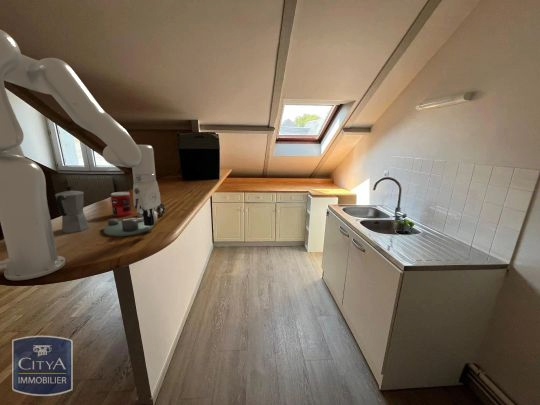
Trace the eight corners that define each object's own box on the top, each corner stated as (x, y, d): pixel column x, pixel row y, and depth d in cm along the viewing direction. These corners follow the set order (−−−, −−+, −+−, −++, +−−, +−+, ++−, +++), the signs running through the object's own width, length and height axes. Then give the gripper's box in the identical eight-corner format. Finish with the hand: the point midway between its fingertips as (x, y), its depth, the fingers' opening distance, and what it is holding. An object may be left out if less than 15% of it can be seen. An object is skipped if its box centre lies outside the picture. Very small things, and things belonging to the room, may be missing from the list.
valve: (135, 217, 119) (159, 218, 118) (134, 204, 117) (158, 205, 117) (143, 213, 125) (165, 214, 125) (141, 201, 124) (165, 202, 123)
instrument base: (104, 239, 91) (103, 230, 90) (103, 225, 105) (102, 218, 105) (156, 231, 101) (155, 223, 100) (149, 219, 115) (148, 212, 114)
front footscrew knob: (123, 232, 94) (121, 218, 92) (122, 228, 98) (120, 214, 97) (159, 227, 101) (157, 213, 99) (156, 223, 105) (155, 210, 104)
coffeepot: (70, 224, 106) (63, 183, 102) (95, 223, 108) (89, 183, 104) (49, 237, 92) (40, 190, 87) (78, 236, 94) (70, 190, 90)
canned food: (114, 213, 124) (111, 192, 121) (132, 212, 127) (130, 191, 124) (112, 217, 117) (109, 195, 114) (131, 216, 120) (128, 194, 118)
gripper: (140, 182, 83) (145, 232, 88) (165, 176, 98) (168, 220, 102) (120, 181, 85) (126, 230, 89) (148, 175, 99) (152, 218, 103)
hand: (149, 225), depth 96 cm, fingers closed
